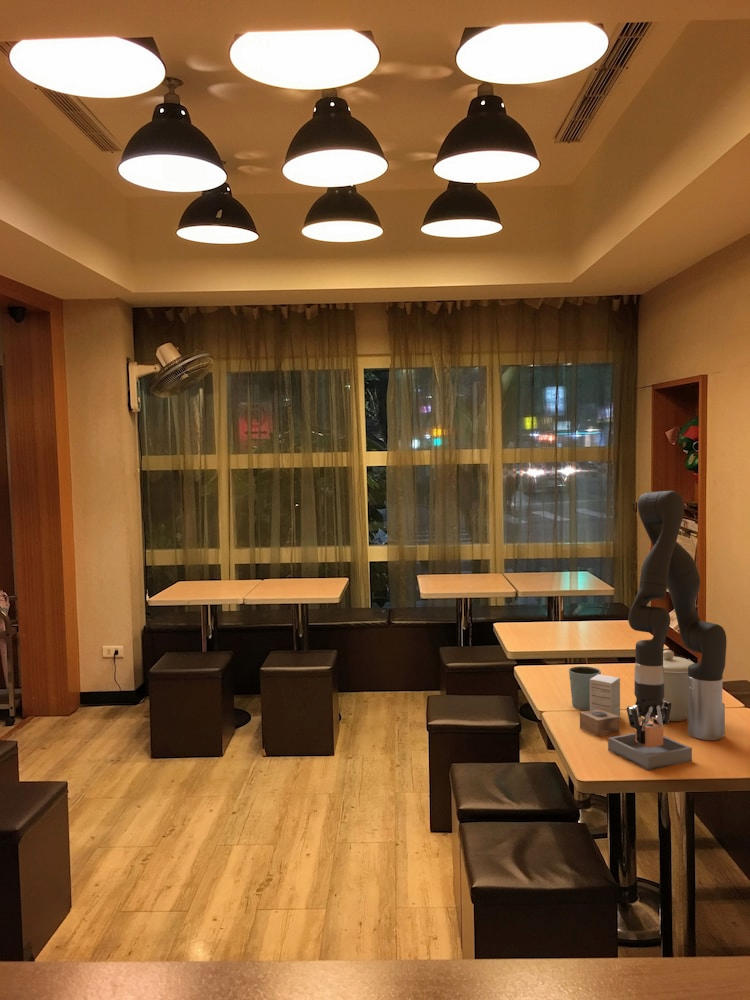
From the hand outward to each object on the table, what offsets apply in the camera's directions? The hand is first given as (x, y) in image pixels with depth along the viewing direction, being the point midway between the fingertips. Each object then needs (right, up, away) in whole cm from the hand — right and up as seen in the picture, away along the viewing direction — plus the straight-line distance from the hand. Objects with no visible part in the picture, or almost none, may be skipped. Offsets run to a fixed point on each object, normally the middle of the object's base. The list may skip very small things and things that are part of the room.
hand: (649, 741), depth 192 cm
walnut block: (-7, -4, +20) cm, 21 cm away
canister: (+18, -3, +32) cm, 37 cm away
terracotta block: (0, 0, 0) cm, 0 cm away
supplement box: (-2, -3, +31) cm, 31 cm away
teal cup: (-5, -3, +43) cm, 43 cm away
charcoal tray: (0, -4, 0) cm, 4 cm away
